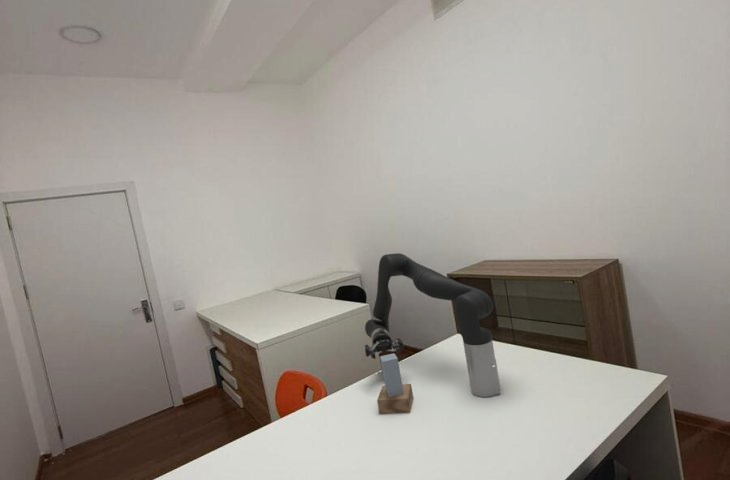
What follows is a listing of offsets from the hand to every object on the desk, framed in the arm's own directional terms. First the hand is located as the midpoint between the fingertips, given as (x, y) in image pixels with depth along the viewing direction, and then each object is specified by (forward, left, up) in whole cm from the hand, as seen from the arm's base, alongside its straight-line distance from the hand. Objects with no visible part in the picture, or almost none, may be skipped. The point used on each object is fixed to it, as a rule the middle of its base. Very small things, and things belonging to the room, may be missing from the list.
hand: (386, 354), depth 140 cm
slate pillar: (-4, +11, -9) cm, 15 cm away
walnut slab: (-4, +10, -14) cm, 18 cm away
